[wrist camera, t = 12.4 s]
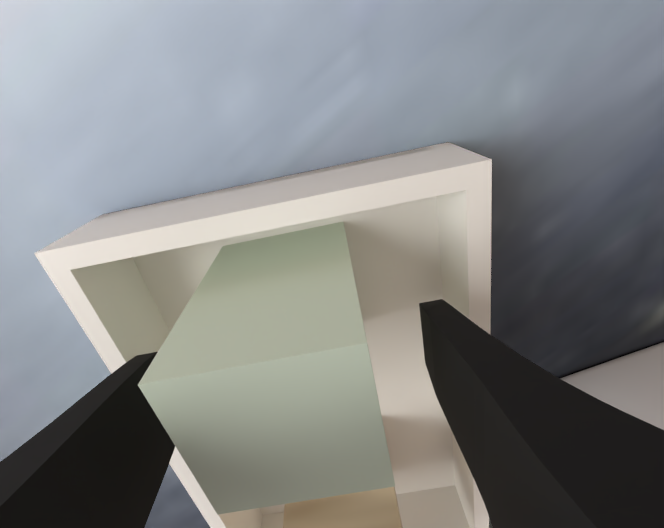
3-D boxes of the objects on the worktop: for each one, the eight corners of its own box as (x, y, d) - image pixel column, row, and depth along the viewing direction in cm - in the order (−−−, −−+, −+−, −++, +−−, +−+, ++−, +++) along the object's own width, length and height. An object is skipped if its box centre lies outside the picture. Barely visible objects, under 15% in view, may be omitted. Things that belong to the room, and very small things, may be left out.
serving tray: (463, 480, 18) (488, 547, 16) (256, 513, 19) (245, 583, 16) (447, 142, 11) (492, 158, 8) (101, 214, 11) (34, 253, 9)
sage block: (363, 321, 13) (395, 486, 8) (258, 341, 13) (217, 514, 8) (343, 221, 11) (366, 343, 6) (222, 246, 11) (137, 384, 6)
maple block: (391, 471, 17) (426, 648, 12) (311, 485, 17) (308, 664, 12) (379, 415, 15) (414, 593, 10) (290, 430, 15) (275, 613, 10)
